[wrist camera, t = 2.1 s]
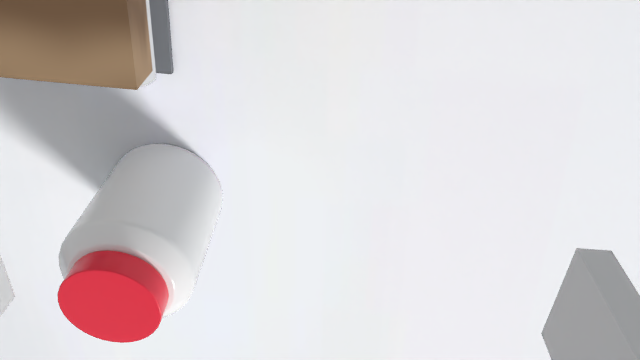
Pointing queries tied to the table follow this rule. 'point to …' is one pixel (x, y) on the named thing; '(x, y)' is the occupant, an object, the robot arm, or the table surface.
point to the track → (159, 39)
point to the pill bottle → (139, 243)
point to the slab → (76, 42)
